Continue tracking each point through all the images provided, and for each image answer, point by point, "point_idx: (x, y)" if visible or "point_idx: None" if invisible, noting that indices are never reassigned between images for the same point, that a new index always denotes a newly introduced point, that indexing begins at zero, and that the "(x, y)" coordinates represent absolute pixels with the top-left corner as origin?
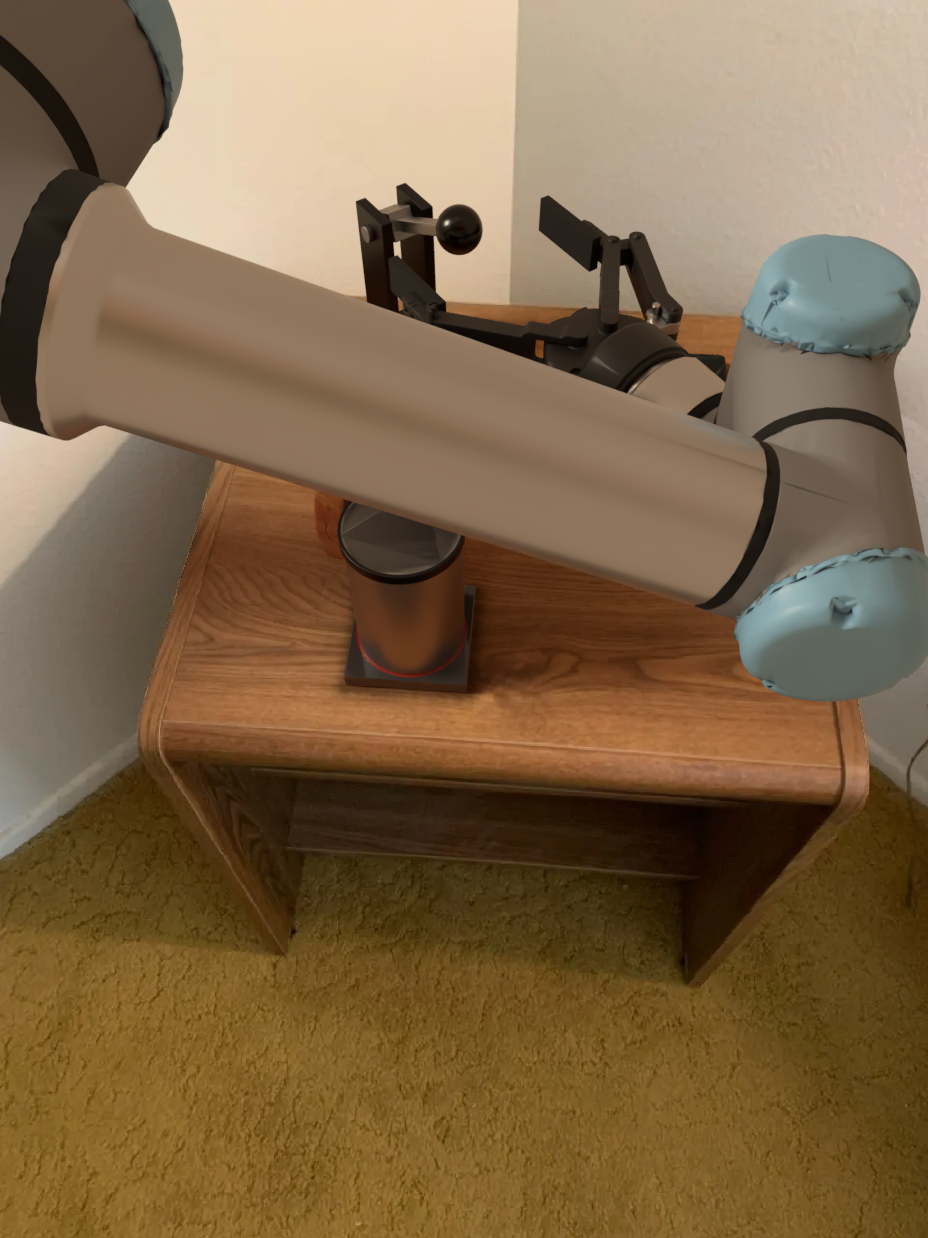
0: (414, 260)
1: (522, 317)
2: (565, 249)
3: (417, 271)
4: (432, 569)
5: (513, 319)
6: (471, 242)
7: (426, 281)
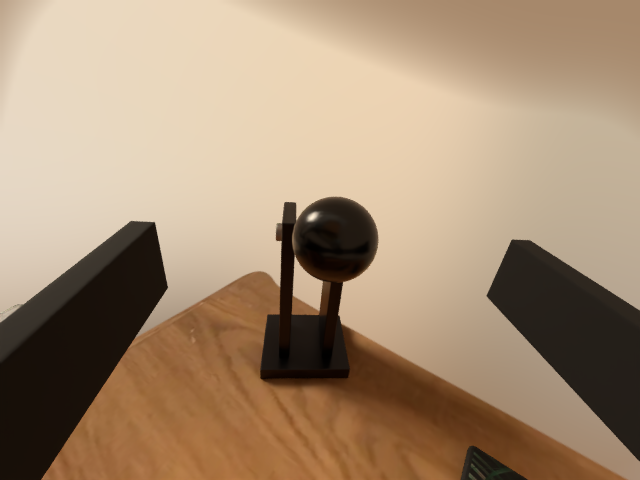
0: None
1: (427, 372)
2: (555, 362)
3: (326, 288)
4: None
5: (417, 370)
6: (338, 264)
7: (328, 301)
